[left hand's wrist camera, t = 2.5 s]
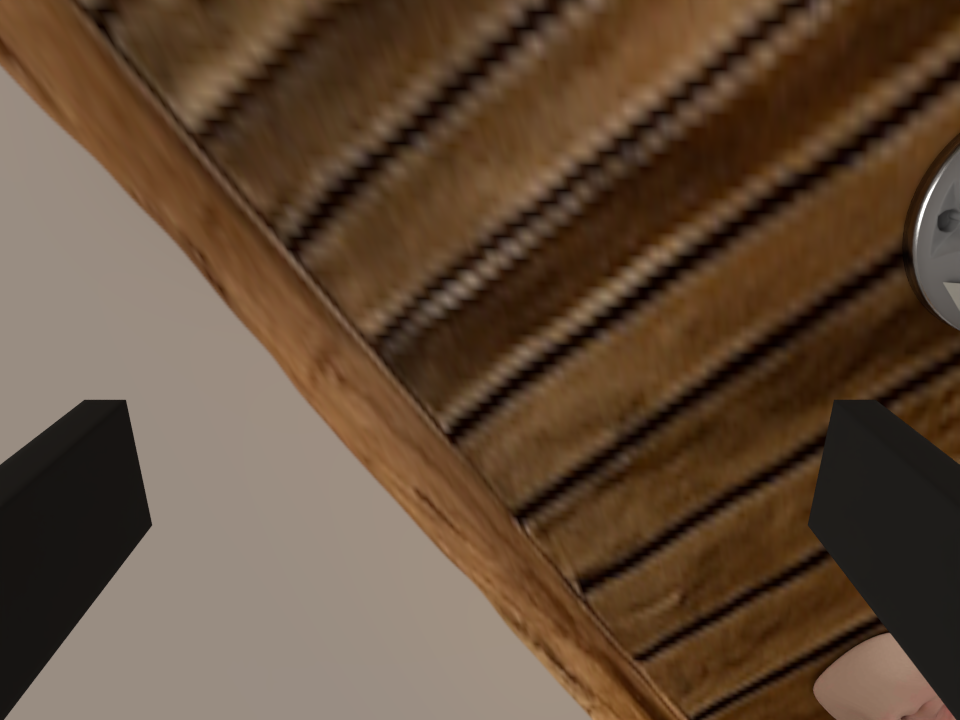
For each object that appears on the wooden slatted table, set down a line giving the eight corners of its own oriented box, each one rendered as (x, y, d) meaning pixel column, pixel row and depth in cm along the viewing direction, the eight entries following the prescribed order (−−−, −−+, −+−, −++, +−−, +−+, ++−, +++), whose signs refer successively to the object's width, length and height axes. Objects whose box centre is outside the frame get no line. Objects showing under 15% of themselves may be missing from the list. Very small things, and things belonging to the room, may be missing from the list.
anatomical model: (815, 751, 54) (897, 646, 50) (793, 708, 57) (869, 608, 54) (955, 793, 56) (1045, 695, 52) (925, 749, 59) (1008, 655, 55)
